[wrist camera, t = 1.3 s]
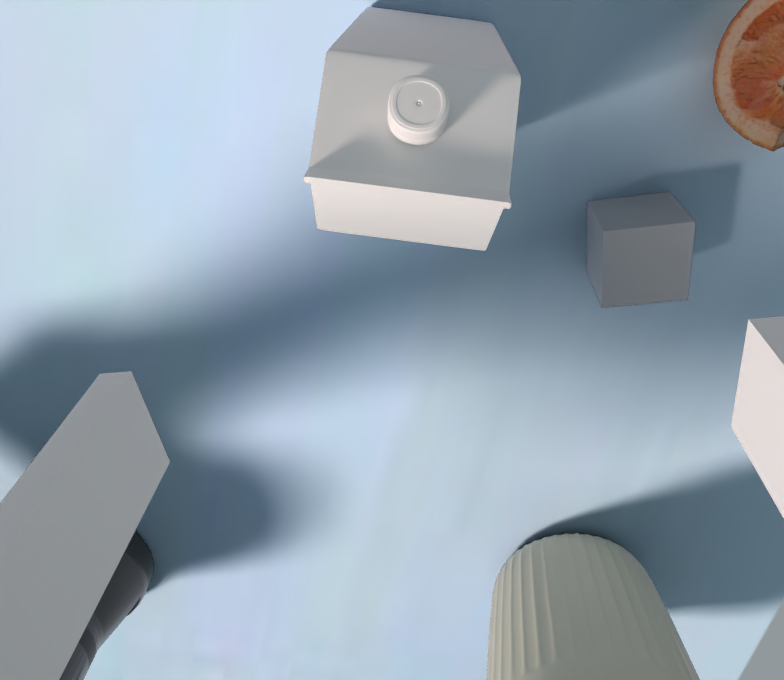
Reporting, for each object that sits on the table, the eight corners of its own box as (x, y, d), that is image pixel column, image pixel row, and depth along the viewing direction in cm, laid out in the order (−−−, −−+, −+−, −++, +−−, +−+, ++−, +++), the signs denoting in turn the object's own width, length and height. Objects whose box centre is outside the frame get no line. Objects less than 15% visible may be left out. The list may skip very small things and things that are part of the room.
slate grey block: (586, 271, 44) (601, 307, 40) (587, 200, 42) (603, 231, 37) (664, 263, 44) (687, 299, 39) (669, 191, 41) (695, 221, 37)
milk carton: (471, 149, 40) (491, 297, 24) (356, 134, 40) (300, 272, 24) (493, 22, 36) (535, 97, 20) (366, 5, 36) (308, 68, 20)
